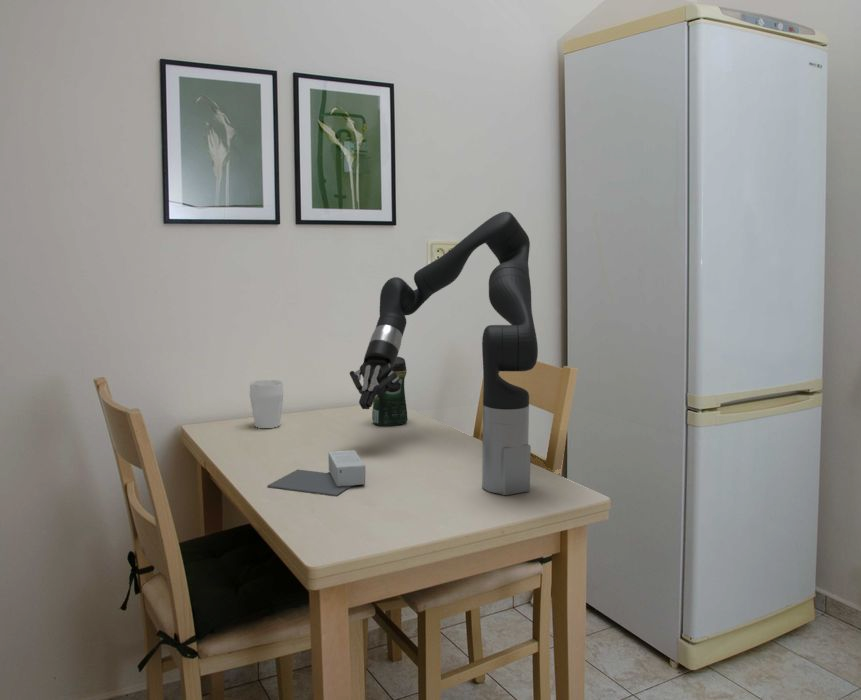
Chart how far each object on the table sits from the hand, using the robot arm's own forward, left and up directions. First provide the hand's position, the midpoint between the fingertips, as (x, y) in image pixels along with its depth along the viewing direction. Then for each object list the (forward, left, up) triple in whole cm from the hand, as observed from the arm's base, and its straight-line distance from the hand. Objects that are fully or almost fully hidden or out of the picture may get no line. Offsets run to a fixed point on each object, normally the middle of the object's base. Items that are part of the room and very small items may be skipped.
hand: (364, 407), depth 175 cm
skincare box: (-9, +9, -9) cm, 15 cm away
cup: (+39, +13, -12) cm, 43 cm away
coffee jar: (+27, -18, -12) cm, 35 cm away
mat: (-14, +17, -12) cm, 25 cm away
